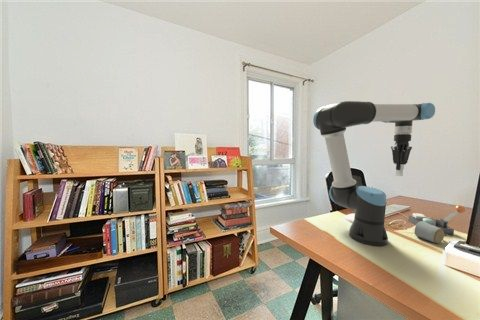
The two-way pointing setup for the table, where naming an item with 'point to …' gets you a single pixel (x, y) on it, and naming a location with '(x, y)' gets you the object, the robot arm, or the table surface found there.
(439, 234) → the grey cylinder
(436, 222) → the dark grey lumpy shape
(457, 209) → the toggle lever
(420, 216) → the rocker
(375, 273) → the table surface
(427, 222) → the push button
